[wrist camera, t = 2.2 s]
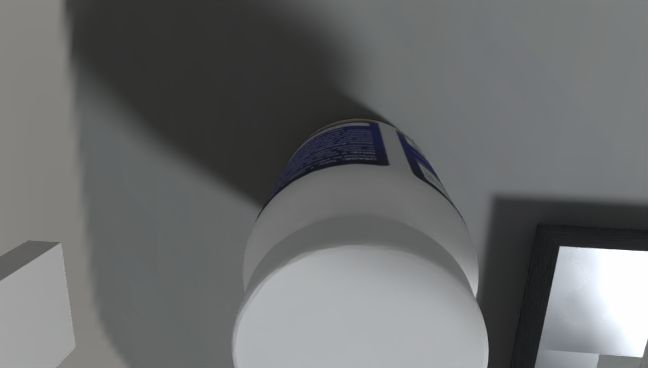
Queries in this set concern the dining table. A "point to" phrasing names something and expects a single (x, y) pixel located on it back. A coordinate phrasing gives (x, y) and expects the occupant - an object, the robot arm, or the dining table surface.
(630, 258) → the jig
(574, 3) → the dining table surface
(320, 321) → the pill bottle
